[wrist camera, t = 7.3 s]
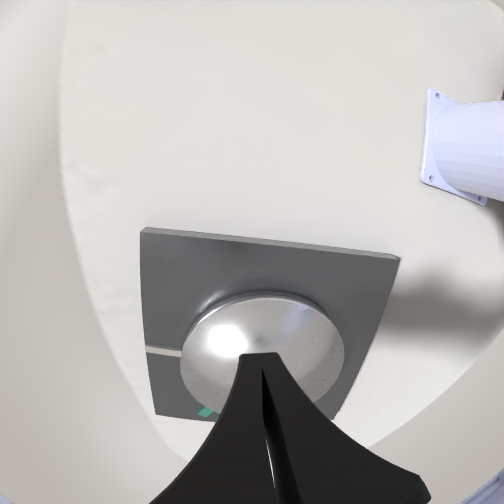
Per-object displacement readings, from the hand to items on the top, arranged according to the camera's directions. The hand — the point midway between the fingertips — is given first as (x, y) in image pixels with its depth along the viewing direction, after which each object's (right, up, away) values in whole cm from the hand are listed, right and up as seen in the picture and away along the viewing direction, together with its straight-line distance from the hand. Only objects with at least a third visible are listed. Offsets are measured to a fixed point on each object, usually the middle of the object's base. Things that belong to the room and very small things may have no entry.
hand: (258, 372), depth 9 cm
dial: (0, -4, +10) cm, 11 cm away
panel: (0, -3, +11) cm, 12 cm away
